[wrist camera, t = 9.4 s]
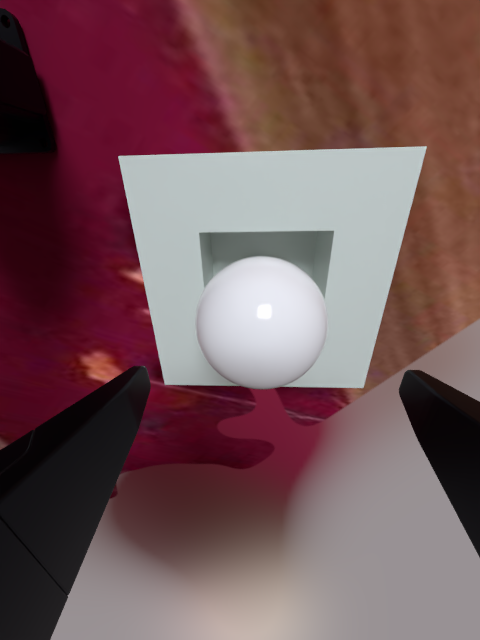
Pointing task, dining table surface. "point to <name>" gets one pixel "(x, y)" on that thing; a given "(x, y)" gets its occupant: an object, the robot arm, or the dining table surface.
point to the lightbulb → (261, 322)
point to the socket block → (272, 241)
